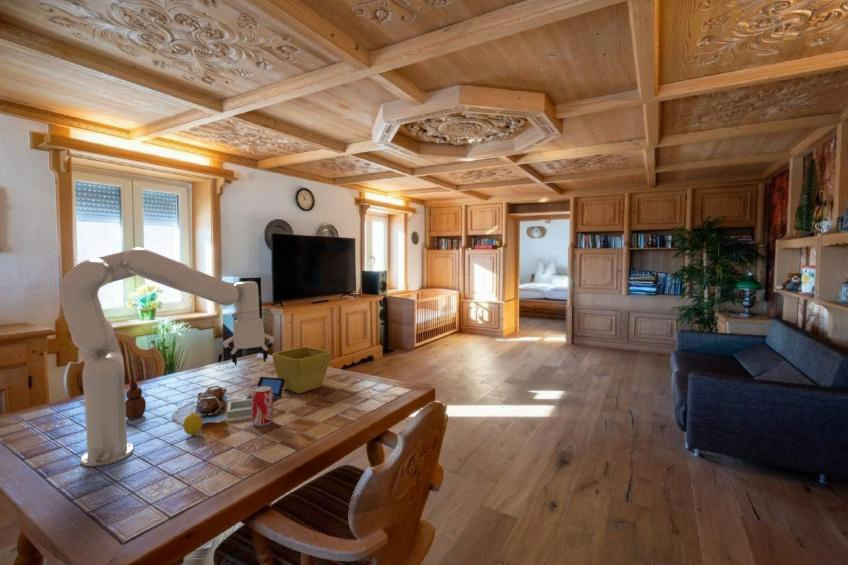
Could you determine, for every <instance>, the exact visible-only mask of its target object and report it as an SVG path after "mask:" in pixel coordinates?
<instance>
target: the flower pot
mask: <svg viewBox="0 0 848 565" xmlns="http://www.w3.org/2000/svg"><path fill="white" fill-rule="evenodd" d="M330 356H331V351H328V350H323V349H320V348H314V347H311V346H310V347H309V346H301V347H297V348H291V349H287V350H283V351H282V350H281V351H277V352H273V353H272V361H273V364H274V368H275V369H274V370H275V372H276V375H277V378H282V379H285V383H284V386H283V388H285V389H287V390H286V391H288V390H290V391H289V392H291V391H293V392H292V393H295V392H296V393H295V394H298V393H300V394H303V393H302V392H304V393H306V392H305V391H307V392H309V391H308V390H310V391H312V390H311V389H313V390H315V389H314V388H316V387H319V386H321V387H322V385H323V382H324V379H325V376H326V374H327V371H328V367H329V363H330V362H329V361H330ZM285 389H284V390H285Z"/></svg>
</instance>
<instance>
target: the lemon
mask: <svg viewBox="0 0 848 565" xmlns="http://www.w3.org/2000/svg"><path fill="white" fill-rule="evenodd" d="M202 428H203V419H202V417H201V415H200V414H198V413H195V412H191V413H190V414H188V415H187V416H186V417H185V418H184V421H183V430H184V432H185V433H186V434H187V435H189V436H190V435H191V436H192V437H193V436H194V437H195V436H196V434H198V433H199V432H200V431H201V430H202Z"/></svg>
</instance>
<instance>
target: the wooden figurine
mask: <svg viewBox="0 0 848 565" xmlns="http://www.w3.org/2000/svg"><path fill="white" fill-rule="evenodd" d="M129 384H130V388H129V389H128V390H127V391H126V393H125V397H126V398H127V399H126V400H125V406H126V419H128V420H135V419H139V418H141V417H143V416H144V415H145V412H146V407H147V406H146V405H147V404H146V399H145V397H143V396H142V395H143V390H142V388H141V387H138V384H137V381H135V380H134V379H133V380H132V379H130V383H129Z"/></svg>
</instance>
